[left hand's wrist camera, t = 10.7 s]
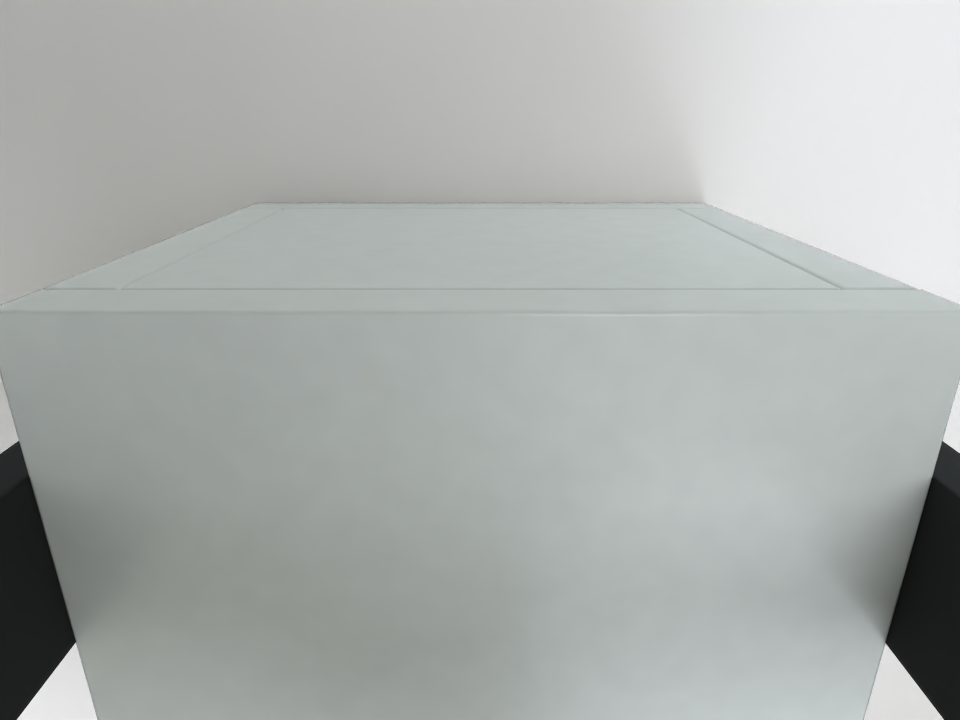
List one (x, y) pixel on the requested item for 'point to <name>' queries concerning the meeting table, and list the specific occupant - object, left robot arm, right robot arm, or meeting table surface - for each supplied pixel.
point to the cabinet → (480, 463)
